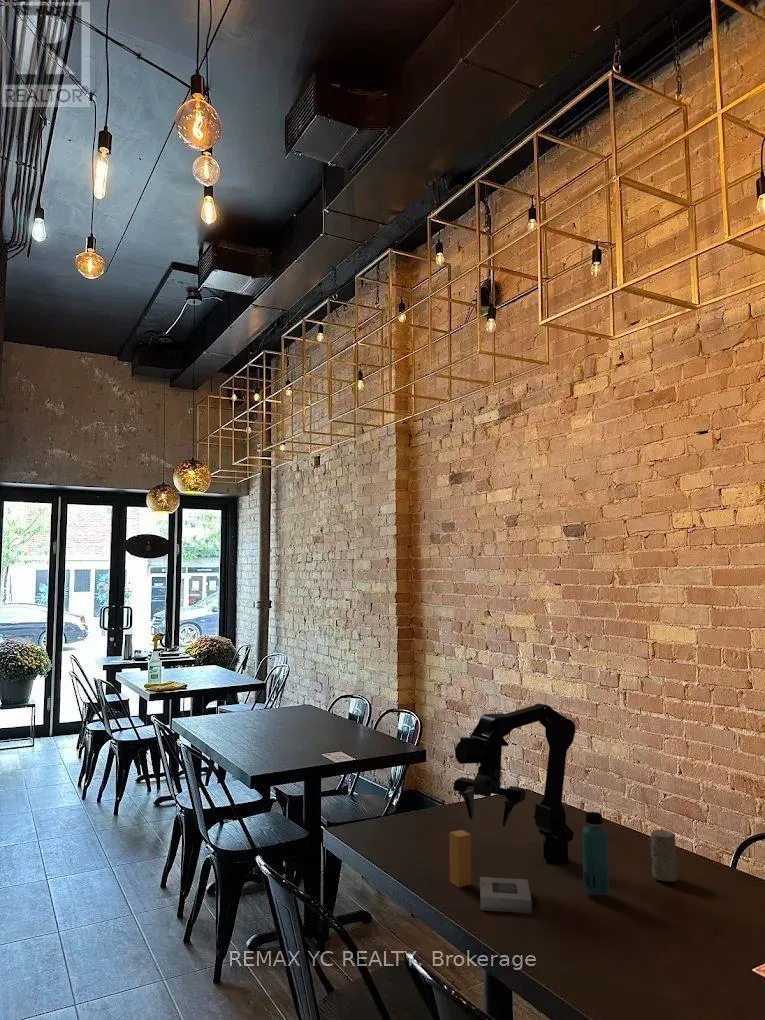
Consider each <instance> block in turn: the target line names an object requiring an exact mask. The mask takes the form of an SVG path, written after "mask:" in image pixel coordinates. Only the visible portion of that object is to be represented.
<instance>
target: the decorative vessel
mask: <svg viewBox="0 0 765 1020" xmlns="http://www.w3.org/2000/svg"><path fill="white" fill-rule="evenodd" d="M675 836H676V835H675V834H674V833H673V832H672V831H668V830H665V829H655V830H652V831H651V834H650V850H651V852H650V853H651V855H650V856H651V867H652V869H651V871H652V876H653V878H654V879H656V880H658V881H662V882H668V883H670V882H671V883H674V882H676V881H677V878H678V865H677V859H676V858H677V856H676V853H677V852H676V837H675Z"/></svg>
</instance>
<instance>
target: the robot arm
mask: <svg viewBox="0 0 765 1020" xmlns="http://www.w3.org/2000/svg"><path fill="white" fill-rule="evenodd" d="M537 722H539V724H540V725H542V727H544V729H545V731H544V732H545V738H546V742H547V744H548V747H549V748H548V749H549V750H548V755H547V757H548V758H547V767H546V776H545V785H544V795H543V799H542V800H541V802H540V803H536V804H535V806H534V807H535V809H534V810H535V811H534V815H533V818H534V823H535V825H536V827H537V828H538V832H539V834H540V835H542V836H544V837H543V838H544V839H543V840H542V843H541V844H542V845H541V847H542V849H541V850H542V858H543V859H544V861H545V863H546V864H559V865H570V860H569V843H570V842H572V841H573V838H574V834H575V833H574V831H573V830H572V829H571V828H570V827H569V826H568V824H567V817H566V816H567V814H566V811H565V808H564V805H563V802H562V801H563V791H564V781H565V773H566V772H565V769H566V762H567V761H566V760H567V752H568V749H569V748H570V747H571V745H572V744H573V742H574V739H575V735H576V729H577V728H576V724H574V721H573V720H571V719H569V718H567V717H566V716H564V715H563V714H561V713H559V712H557V711H556V710H554V709H553V707H552V706H550V705H548V704H545V703H535V704H534V705H532V706H528V707H524V708H521V709H517V710H514V711H510V712H506V713H484V714H482V715H481V716H480V719H479V720H478V722H477V724H476V726H475V727H474V729H473V731H472V732H471V733H470V735H469V737H466V736H461V737H460V740H459V741H458V742H457V744H456V746H455V748H454V756H455V759H456V761H457V762H458V763H459V764H461V765H464V764H467V765H468V764H479V766H478V770H477V771H478V772H477V774H476V775H475V776H474V779H473V778H470V777H463V776H461V777H459V778H456V780H455V781H454V782H453V788H452V789H453V791H454V792H457V793H458V794H457V795H460V796H461V797H462V798H463V800H464V803H465V806H466V809H467V813H468V817H469V820H473V819H474V818H473V817H474V812H475V811H474V807H475V805H474V804H475V796H483V797H486V798H488V797H491V796H492V794H494V795H497V796H504V797H505V798H506V799H505V800H504V809H503V810H504V812H503V818H502V826H503V827H505V826H506V824H507V822H508V820H509V818H510V815H511V812H512V810H513V808H514V807H515V806H516V805H517V804H520V803H522V802H523V801H525V799H526V790H525V788H524V787H520V786H514V785H511V786H509V787H507V788H505V787H502V782H501V774H502V773H501V772H502V771H503V770H502V769H503V767H502V756H503V755H502V751H503V747H509V742H508V741H506V739H505V738H504V737H506V736H508V735H509V734H510V733H512V731H513V730H514V729H517V728H521V727H524V726H527V725H530V724H533V723H537Z"/></svg>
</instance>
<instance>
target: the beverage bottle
mask: <svg viewBox="0 0 765 1020" xmlns="http://www.w3.org/2000/svg"><path fill="white" fill-rule="evenodd" d="M585 822H586V824H587V823H588V825H586V826H584V827H583V828H582V829H581V835H582V837H581V843H582V844H581V847H582V851H581V853H582V854H581V856H582V863H581V864H582V886H583V889H584V891H585V892H587V893H589V894H592V895H597V896H603V895H607V894H608V893H609V891H610V878H609V877H610V874H609V857H608V856H609V854H608V832H607V830H606V829H605V828H604V827H603V826H601V825H602V824H603V822H604V820H603V815H602V813H599V812H595V811H589V812H586V813H585Z"/></svg>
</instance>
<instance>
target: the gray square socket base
mask: <svg viewBox="0 0 765 1020" xmlns="http://www.w3.org/2000/svg"><path fill="white" fill-rule="evenodd" d="M479 899H480V900H479V902H480V911H485V912H486V911H489V912H501V913H502V912H505V913H517V914H518V913H519V914H521V913H522V914H532V913H533V911H532V910H533V909H532V907H533V906H532V903H533V902H532V901H533V900H532V897H531V891H530V887H529V882H528V879H524V878H507V877H505V878H504V877H491V876H490V877H489V876H479Z"/></svg>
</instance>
